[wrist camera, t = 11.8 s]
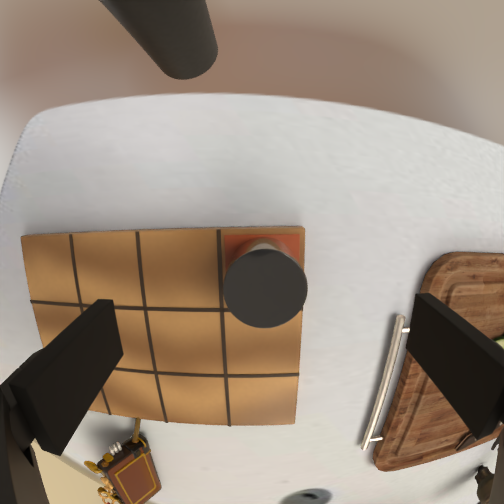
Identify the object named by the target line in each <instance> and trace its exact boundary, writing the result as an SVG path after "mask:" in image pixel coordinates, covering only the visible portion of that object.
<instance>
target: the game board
mask: <svg viewBox="0 0 504 504" xmlns="http://www.w3.org/2000/svg"><path fill="white" fill-rule="evenodd" d="M257 237H270V238H274V239H277V240H279V241H281V242H283V243H284V244H286V245H287V246H288V247H289V248H290V249H291V250H292V251H293V253H294V255H295V256H296V258H297V260H298V262H299V263H300V265H301V267H302V269H303V271H304V254H305V228H304V227H302V226H273V227H209V228H170V229H139V230H113V231H90V232H69V233H50V234H32V235H25V236H21V244H22V252H23V258H24V265H25V271H26V277H27V282H28V287H29V292H30V297H31V300H30V301H31V303H32V306H33V310H34V314H35V318H36V322H37V326H38V330H39V334H40V337H41V341H42V344H43V348H44V347H46V346H47V345H48V344H49V343H50V342H51V341H52V340H53V339H54V338H55V337H56V336H57V335H58V334H59V333H61V332H62V331H63V330H64V329H65V328H66V327H67V326H68V325H69V324H70V323H71V322H73V321H74V320H75V319H76V318H77V317H78V316H79V315H80V314H82V313H83V312H84V311H85V310H86V309H87V308H88V307H89V306H91V305H92V304H93V303H94V302H95V301H96V300H97V299H113V302H114V308H115V313H116V319H117V324H118V329H119V334H120V339H121V344H122V348H123V353H124V355H123V357H122V358H121V360H120V361H119V363H118V364H117V366H116V367H115V369H114V370H113V372H112V373H111V375H110V376H109V378H108V380H107V381H106V383H105V384H104V386H103V387H102V389H101V390H100V392H99V394H98V395H97V397H96V398H95V400H94V402H93V403H92V405H91V406H90V408H89V410H91V411H96V412H102V413H107V414H109V415H112V414H113V415H119V416H125V417H132V418H137V417H139V418H140V419H147V420H155V421H165V423H168V422H176V423H188V424H205V425H228V426H231V425H284V424H294V423H295V414H296V403H297V391H298V378H299V364H300V348H301V331H302V311H303V307H302V308H301V310H300V311H299V313H298V314H297V315H296V316H295V317H294V318H293V319H291V320H290V321H289V322H287V323H285V324H283V325H281V326H278V327H274V328H255V327H252V326H249V325H246V324H244V323H243V322H241V321H239V320H238V319H237V318H236V317H235V316H234V315H233V314H232V313H231V312H230V310H229V309H228V307H227V305H226V303H225V300H224V296H223V282H224V278H225V274H226V271H227V267H228V263H229V260H230V258H231V256H232V254H233V253H234V251H235V250H236V249H237V248H238V247H239V246H240V245H241V244H242V243H244V242H246V241H248V240H250V239H253V238H257Z"/></svg>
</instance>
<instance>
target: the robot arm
mask: <svg viewBox="0 0 504 504" xmlns="http://www.w3.org/2000/svg"><path fill="white" fill-rule="evenodd" d="M406 349H407V350H408V351H409V353H410V354H411V355H412V356H413V358H414V359H415V360H416V361H417V363H418V364H419V365H420V366H421V368H422V369H423V370H424V371H425V373H426V374H427V375H428V376H429V378H430V379H431V380H432V381H433V383H434V384H435V385H436V386H437V388H438V389H439V390H440V392H441V393H442V394H443V396H444V397H445V398H446V399H447V401H448V402H449V403H450V405H451V406H452V407H453V409H454V410H455V411H456V413H457V414H458V415H459V417H460V418H461V419H462V421H463V422H464V423H465V425H466V426H467V427H468V429H469V430H470V431H471V433H472V434H473V436H474V437H475V438H476V440H479V439H481V438H484V437H486V436H488V435H490V434H492V433H493V432H494V430H495V428H496V426H497V424H498V422H499V421H501V422H502V423H503V425H504V349H503V347H502V346H501V345H499V344H498V343H497V342H496V341H494V340H492V339H489V338H488V337H487V336H486V335H484V334H483V333H482V332H481V331H479V330H478V329H477V328H476V327H474V326H473V325H472V324H470V323H469V322H468V321H467V320H465V319H464V318H463V317H461V316H460V315H459V314H457V313H456V312H455V311H453V310H452V309H451V308H449V307H448V306H447V305H445V304H444V303H443V302H441V301H440V300H439V299H437V298H436V297H435V296H433V295H432V294H431V293H420V294H416V295H415V302H414V308H413V313H412V319H411V324H410V329H409V334H408V339H407V344H406ZM123 355H124V353H123V348H122V344H121V339H120V334H119V329H118V324H117V319H116V313H115V308H114V302H113V299H97V300H96V301H95V302H94V303H93V304H92V305H91V306H89V307H88V308H87V309H86V310H85V311H84V312H83V313H82V314H80V315H79V316H78V317H77V318H76V319H75V320H74V321H73V322H71V323H70V324H69V325H68V326H67V327H66V328H65V329H64V330H63V331H62V332H61V333H59V334H58V335H57V336H56V337H55V338H54V339H53V340H52V341H51V342H50V343H49V344H48V345H47V346H46V347H44V348H43V349H41V350H39V351H37V352H35V353H33V354H32V355H31V356H30V357H29V358H28V359H27V360H26V361H25V362H24V363H23V364H22V365H20V366H19V368H17V369H16V370H15V371H14V372H13V373H12V374H11V375H10V376H9V377H8V378H7V379H6V380H5V381H4V382H3V383H2V384H1V385H0V504H49V501H48V498H47V495H46V492H45V488H44V485H43V482H42V478H41V475H40V471H39V468H38V464H37V460H36V456H35V452H34V450H33V448H32V446H31V443H32V441H33V440H34V438H36V440H37V442H38V444H39V445H40V447H41V449H42V450H44V451H47V452H49V453H52V454H55V455H58V456H61V454H62V453H63V451H64V449H65V447H66V446H67V444H68V442H69V441H70V439H71V437H72V436H73V434H74V432H75V431H76V429H77V427H78V426H79V424H80V423H81V421H82V419H83V418H84V416H85V414H86V413H87V411H88V410H89V408H90V406H91V405H92V403H93V402H94V400H95V398H96V397H97V395H98V394H99V392H100V390H101V389H102V387H103V386H104V384H105V383H106V381H107V380H108V378H109V376H110V375H111V373H112V372H113V370H114V369H115V367H116V366H117V364H118V363H119V361H120V360H121V358H122V357H123ZM497 444H499V448H498V450H497V451H498V455H497V462H496V468H495V474H494V479H493V485H492V489H491V494H490V498H489V503H488V504H504V427H503V428H502V430H501V432H500V434H499V436H498V437H497V439H496V441H495V442H494V444H493V446H492V448H491V450H494V448H495V447H496V445H497Z"/></svg>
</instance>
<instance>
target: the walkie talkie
mask: <svg viewBox="0 0 504 504" xmlns="http://www.w3.org/2000/svg"><path fill="white" fill-rule="evenodd" d="M140 421H141V419H140V418H139V417H137V418H136V421H135V428H134V434H133V435H132V437H131V438H129V439H128V440H126V441H125V442H124V443H122V446H120V443H119V442H116V445H117V447H116V445H115V444H113V445H112V446H113V448H112V447H109V450H110V452H111V454H109V453H106V454H104V455H103V459H102V460H100V461H99V462H98V463H97V465H96V464H95V463H93V462H90V461H85V462H84V464H85V465H86V466H87V467H88V468H89V469H90V470H91V471H93V472H94V473H96V474H98V473H102V475H103V476H104V477H101V478H100V479H101V480H102V482H103V483H104V484H106V486H104V487H105V488H102V487H100V488H99V489H98V493H99V496H100V497H102V500H103V502H104V503H105V504H110V503H109V502H108V503H106V502H105V500H104V499H105V498H110V499H111V500H112V503H111V504H114V502H115V501H118V502H119V503H120V504H144V503H145V502H146V501H148V500H149V499H150V498H151V497H153V496H154V495H155V494H156V493H157V492H158V491H160V490H161V483H160V480H159V477H158V475H157V472H156V469H155V466H154V463H153V460H152V457H151V454H150V452H151V449H150V447H149V444H148V441H147V439H146V438H145V437H144V436H142V435H141V434H139V428H140ZM113 449H114V451H113ZM106 490H108V492H107V491H106ZM110 491H112V492H113V493H110ZM101 493H104V494H106V495H107V496H102V495H101Z"/></svg>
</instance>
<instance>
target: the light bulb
mask: <svg viewBox="0 0 504 504" xmlns="http://www.w3.org/2000/svg"><path fill="white" fill-rule="evenodd" d="M475 479H476V481H477V484H478V489H477V496H478V498H479V500H480V501H481V503H482V504H488V503H489V498H490V494H491V489H492V485H493V479H494V474H492V473H491V472H490V471H489V469H488V467H484V466H481V467H480V468H479V469H478V473H477V475H476V476H475Z"/></svg>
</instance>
